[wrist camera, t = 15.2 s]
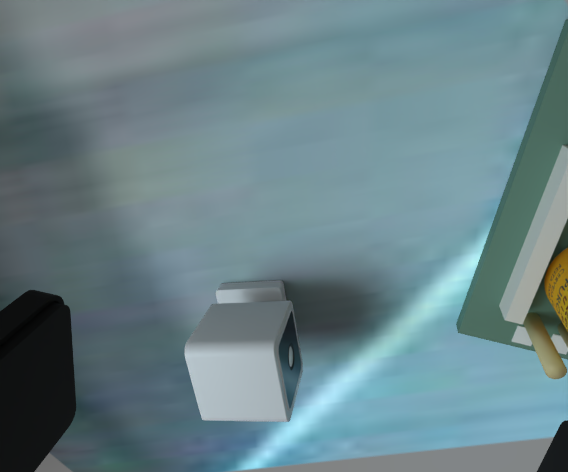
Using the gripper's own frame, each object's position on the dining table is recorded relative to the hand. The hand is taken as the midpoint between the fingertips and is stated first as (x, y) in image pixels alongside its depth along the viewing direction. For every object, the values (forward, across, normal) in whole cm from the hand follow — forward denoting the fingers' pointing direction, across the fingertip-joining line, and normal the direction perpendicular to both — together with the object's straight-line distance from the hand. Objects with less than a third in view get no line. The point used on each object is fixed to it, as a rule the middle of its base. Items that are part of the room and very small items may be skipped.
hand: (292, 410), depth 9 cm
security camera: (+28, +5, +16) cm, 33 cm away
